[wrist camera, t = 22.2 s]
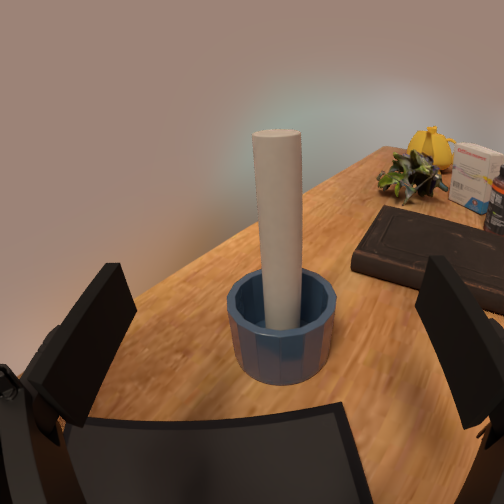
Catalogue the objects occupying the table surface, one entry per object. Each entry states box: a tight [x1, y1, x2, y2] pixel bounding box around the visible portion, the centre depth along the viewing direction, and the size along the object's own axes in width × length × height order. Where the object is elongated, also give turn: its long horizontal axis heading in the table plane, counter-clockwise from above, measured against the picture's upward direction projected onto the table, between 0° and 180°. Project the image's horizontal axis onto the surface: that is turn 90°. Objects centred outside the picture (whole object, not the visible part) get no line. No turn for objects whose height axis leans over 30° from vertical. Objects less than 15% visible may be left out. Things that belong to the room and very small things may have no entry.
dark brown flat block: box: [351, 205, 504, 315], centre depth 30 cm, size 16×23×2 cm
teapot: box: [407, 126, 456, 175], centre depth 63 cm, size 20×15×12 cm
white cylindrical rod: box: [252, 129, 302, 330], centre depth 19 cm, size 3×3×16 cm
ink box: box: [449, 142, 504, 215], centre depth 43 cm, size 9×8×12 cm
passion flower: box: [376, 149, 448, 206], centre depth 47 cm, size 11×11×12 cm
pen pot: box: [227, 268, 337, 385], centre depth 22 cm, size 8×8×6 cm
